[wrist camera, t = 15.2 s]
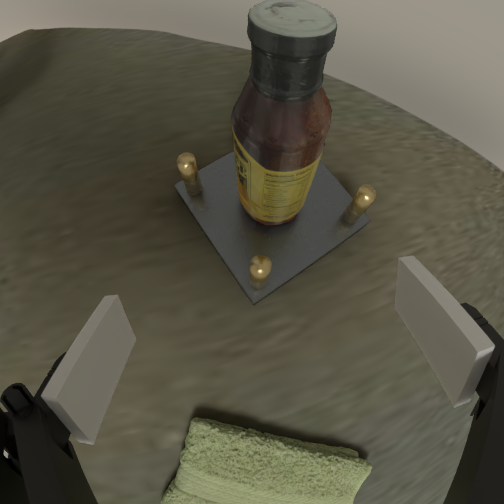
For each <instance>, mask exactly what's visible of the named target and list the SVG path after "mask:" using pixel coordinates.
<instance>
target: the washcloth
mask: <svg viewBox="0 0 504 504" xmlns="http://www.w3.org/2000/svg"><path fill="white" fill-rule="evenodd" d="M180 462H181V464H180V466H179V468H178V471H177V475H176V478H175V479H174V480H172V482H171V484H170V485H169V486H168V489H167V490H166V492H165V494H164V495H163V497H162V499H161V502H160V503H161V504H353V500H354V497H355V495H356V493H357V491H358V489H359V488H360V486H361V484H362V483H363V481H364V480H365V479H366V478H367V476H368V475H369V474H370V472H371V469H372V465H371V464H370V463H368V462H367V459H361V458H358V452H357V451H355V450H352V449H351V448H344V447H342V446H340V447H336V446H327V445H325V444H318V443H310V442H302V441H301V440H297V439H292V438H287V437H284V436H275V435H273V434H270V433H261V432H260V431H257V430H255V429H251V428H249V429H245V428H242V427H238V426H236V425H231V424H223V423H221V422H218V421H216V420H211V419H201V418H198V417H196V418H194V419H192V421H191V423H190V427H189V433H188V434H187V437H186V439H185V448H184V449H183V450H182V451H181V454H180Z"/></svg>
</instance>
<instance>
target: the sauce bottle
mask: <svg viewBox="0 0 504 504" xmlns="http://www.w3.org/2000/svg"><path fill="white" fill-rule="evenodd" d="M336 30H337V23H336V18H335V17H334V15H333V14H332V13H331V12H330V11H328V10H326V9H325V8H322V7H321V6H319V5H317V4H315V3H312V2H309V1H306V0H267V1H264V2H262V3H259V4H257V5H255V6H254V7H253V8H251V9H250V11H249V14H248V28H247V34H248V37H249V39H250V41H251V48H252V62H251V68H250V71H249V72H250V75H249V78H248V80H247V82H246V84H245V86H244V88H243V90H242V93H241V95H240V97H239V98H238V100H237V102H236V104H235V106H234V108H233V111H232V133H233V142H234V155H235V163H236V174H237V184H238V194H239V199H240V201H241V203H242V205H243V208H244V210H245V212H247V213H248V214H249V215H250V216H251V217H252V218H253V219H255V220H257V221H259V222H260V223H262V224H265V225H277V224H282V223H284V222H289V221H291V220H292V219H294V218H295V216H296V215H297V214H298V212H299V211H300V210H301V208H302V207H303V205H304V203H305V200H306V197H307V195H308V192H309V189H310V187H311V184H312V181H313V178H314V175H315V173H316V170H317V167H318V164H319V161H320V158H321V155H322V153H323V150H324V146H325V143H324V141H325V138H326V135H327V132H328V130H329V128H330V123H331V113H332V109H331V106H330V103H329V99H328V98H327V96H326V93H325V91H324V89H323V88H322V87H321V85H322V82H323V69H324V64H325V60H326V56H327V53H328V52H329V51H330V49H331V48H332V47H333V44H334V40H335V36H336Z"/></svg>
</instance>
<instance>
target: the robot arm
mask: <svg viewBox="0 0 504 504" xmlns="http://www.w3.org/2000/svg"><path fill="white" fill-rule="evenodd" d="M394 308H395V310H396V311H397V313H398V314H399V316H400V317H401V319H402V321H403V322H404V324H405V325H406V327H407V328H408V330H409V332H410V333H411V335H412V336H413V338H414V340H415V341H416V343H417V344H418V346H419V348H420V349H421V351H422V353H423V354H424V356H425V358H426V359H427V361H428V363H429V364H430V366H431V368H432V370H433V371H434V373H435V375H436V376H437V378H438V380H439V382H440V383H441V385H442V387H443V389H444V391H445V392H446V394H447V396H448V398H449V400H450V402H451V403H452V405H453V407H454V408H455V407H457V406H460V405H462V404H465V403H467V402H469V401H471V399H472V397H473V395H474V393H475V391H476V392H477V393H478V395H479V397H480V398H479V400H478V401H477V403H476V405H475V407H474V409H473V411H472V412H471V414H470V416H473V414H474V417H473V421H472V424H471V428H470V432H469V435H468V438H467V442H466V445H465V448H464V451H463V454H462V457H461V460H460V463H459V466H458V469H457V471H456V474H455V476H454V479H453V482H452V484H451V487H450V489H449V491H448V494H447V496H446V498H445V501H444V503H443V504H504V340H503V339H502V337H501V336H500V335H499V334H498V333H497V332H496V330H495V329H494V328H493V327H492V326H491V325H490V324H488V321H487V320H486V319H485V318H483V316H482V315H481V314H480V313H479V311H478V310H477V309H476V308H474V307H472V306H471V305H469V304H467V303H463V304H459V303H458V302H457V301H456V299H455V298H454V297H453V296H452V295H451V294H450V293H449V292H448V291H447V290H446V289H445V288H444V287H443V286H442V285H441V283H440V282H439V281H438V280H437V279H436V278H435V277H434V276H433V275H432V274H431V273H430V272H429V271H428V270H427V269H426V268H425V267H424V266H423V265H422V264H421V263H420V262H419V261H418V260H417V259H416V258H415V257H414V256H406V257H400V258H399V260H398V274H397V285H396V296H395V305H394ZM135 342H136V338H135V336H134V333H133V331H132V329H131V326H130V324H129V321H128V319H127V317H126V314H125V312H124V309H123V307H122V304H121V302H120V299H119V296H118V295H110V296H104V298H103V299H102V301H101V302H100V303H99V305H98V306H97V308H96V309H95V311H94V312H93V314H92V315H91V316H90V318H89V319H88V321H87V322H86V324H85V325H84V327H83V328H82V330H81V331H80V333H79V334H78V336H77V337H76V339H75V340H74V342H73V344H72V345H71V347H70V348H69V350H68V351H67V352H65V353H64V354H63V355H61V356H60V357H59V358H58V359H57V360H56V362H55V363H54V365H53V366H52V368H51V369H52V370H50V371H49V373H48V376H47V377H46V378H45V379H44V381H43V383H42V384H41V386H40V388H39V389H38V391H37V393H36V394H35V396H34V397H33V396H32V395H31V393H30V392H29V391H28V389H27V388H26V386H25V385H23V384H22V383H15V384H12V385H11V386H9V387H8V388H7V389H6V390H5V391H4V392H3V393H2V395H1V399H0V402H1V403H2V404H3V405H4V407H5V408H6V409H7V410H8V412H3V410H2V409H1V408H0V504H98V503H97V501H96V499H95V496H94V494H93V492H92V490H91V488H90V486H89V484H88V482H87V479H86V477H85V475H84V472H83V470H82V468H81V465H80V463H79V461H78V458H77V455H76V453H75V450H74V448H73V445H72V443H71V442H70V441H69V440H68V439H69V436H70V434H72V435H73V436H74V437H75V438H76V440H77V441H78V442H82V443H88V444H93V445H94V442H95V440H96V437H97V434H98V432H99V429H100V426H101V424H102V421H103V418H104V416H105V413H106V411H107V408H108V406H109V403H110V401H111V398H112V396H113V393H114V391H115V388H116V386H117V383H118V381H119V379H120V376H121V374H122V372H123V369H124V367H125V364H126V362H127V360H128V358H129V355H130V353H131V351H132V348H133V346H134V344H135ZM474 412H475V413H474ZM4 450H5V451H6V452H7V453H8V459H7V458H6V457H5V456H4V454H3V453H4Z"/></svg>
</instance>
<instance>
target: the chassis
mask: <svg viewBox="0 0 504 504" xmlns="http://www.w3.org/2000/svg"><path fill="white" fill-rule="evenodd" d="M176 163H177V166H178V168H179V171H180V174H181V177H182V181H180V182H178V183H177V184H175V185H174V186H175V188H176V191H177V193H178V194H179V196H180V197H181V199H182V200H183V202H184V203H185V205H186V206H187V208H188V209H189V211H190V213H191V214H192V216H193V217H194V219H195V220H196V222H197V223H198V225H199V226H200V228H201V229H202V231H203V232H204V234H205V235H206V237H207V238H208V240H209V241H210V243H211V244H212V246H213V247H214V248H215V250H216V251H217V253H218V254H219V256H220V257H221V259H222V260H223V262H224V263H225V265H226V266H227V268H228V269H229V271H230V272H231V274H232V275H233V276H234V278H235V279H236V281H237V282H238V284H239V285H240V287H241V288H242V290H243V291H244V292H245V294H246V295H247V297H248V298H249V300H250V301H251V303H252V304H253V305H255V304H256V303H258V302H259V301H261V300H262V299H264V298H265V297H267V296H268V295H270V294H271V293H273V292H274V291H275V290H277V289H278V288H280V287H281V286H283V285H284V284H286V283H287V282H288V281H290V280H291V279H293V278H294V277H296V276H297V275H298V274H300V273H301V272H303V271H304V270H306V269H307V268H308V267H310V266H311V265H313V264H314V263H315V262H317V261H318V260H320V259H321V258H322V257H324V256H325V255H327V254H328V253H329V252H331V251H332V250H334V249H335V248H336V247H338V246H339V245H340V244H342V243H343V242H344V241H346V240H347V239H349V238H350V237H351V236H353V235H354V234H355V233H357V232H358V231H359V230H361V229H362V228H363V227H365V226H366V225H367V224H368V223H369V222H370V219H369V218H368V217H367V216H366V214H365V213H364V212H365V211H366V210H367V209H368V207H369V206H370V205H371V204H372V202H373V201H374V200H375V199H376V196H377V194H376V191H375V189H374V188H373V187H372V186H370V185H362V186H361V187H360V189H359V190H358V192H357V193H356V195H355V196H354V198H352V197H351V196H350V195H349V193H348V192H347V191H346V190H345V189H344V187H343V186H342V185H341V184H340V183H339V182H338V180H337V179H336V178H335V177H334V176H333V175H332V173H331V172H330V171H329V170H328V169H327V168H326V167H325V165H324V164H323V163H322V162H321V161H319V164H318V167H317V170H316V173H315V175H314V178H313V181H312V184H311V187H310V189H309V192H308V195H307V197H306V200H305V203H304V205H303V207H302V208H301V210H300V211H299V212H298V214H297V215H296V216H295V218H294V219H292V220H291V221H289V222H284V223H282V224H277V225H265V224H262V223H260V222H259V221H257V220H255V219H253V218H252V217H251V216H250V215H249V214H248V213H247V212H245V210H244V208H243V205H242V203H241V201H240V199H239V194H238V184H237V174H236V163H235V155H234V151H233V152H231V153H229V154H227V155H225V156H223V157H222V158H220V159H218V160H216V161H214V162H213V163H211V164H209V165H207V166H206V167H204V168H202V169H200V170H199V171H198V168H197V165H196V161H195V157H194V155H193V154H191V153H188V152H186V153H182V154H180V155H179V156H178V158H177V160H176Z"/></svg>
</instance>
